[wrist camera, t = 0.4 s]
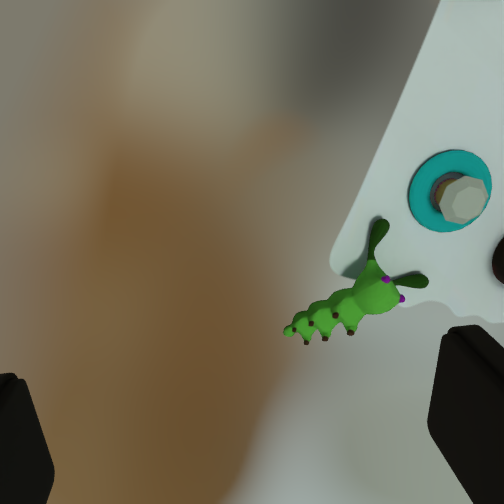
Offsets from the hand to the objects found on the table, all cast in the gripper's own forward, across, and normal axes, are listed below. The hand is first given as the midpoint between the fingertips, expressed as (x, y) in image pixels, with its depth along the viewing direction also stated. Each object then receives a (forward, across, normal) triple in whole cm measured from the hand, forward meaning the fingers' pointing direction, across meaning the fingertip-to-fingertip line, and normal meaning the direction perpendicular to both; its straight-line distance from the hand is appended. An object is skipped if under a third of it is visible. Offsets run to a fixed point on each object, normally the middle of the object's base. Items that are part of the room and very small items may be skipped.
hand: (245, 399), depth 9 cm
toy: (+34, -14, +22) cm, 43 cm away
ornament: (+37, -32, +4) cm, 49 cm away
